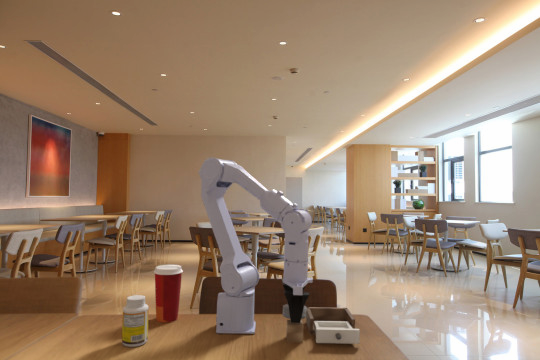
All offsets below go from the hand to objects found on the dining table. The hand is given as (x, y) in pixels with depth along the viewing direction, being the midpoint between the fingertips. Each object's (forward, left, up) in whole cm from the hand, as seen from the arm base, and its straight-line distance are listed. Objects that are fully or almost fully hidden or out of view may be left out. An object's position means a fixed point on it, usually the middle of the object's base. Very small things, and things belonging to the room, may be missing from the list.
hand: (294, 317), depth 89 cm
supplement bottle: (-36, -4, -5) cm, 37 cm away
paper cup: (-33, +12, -5) cm, 36 cm away
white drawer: (+10, 0, -4) cm, 10 cm away
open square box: (+10, +7, -5) cm, 13 cm away
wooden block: (0, 0, -5) cm, 5 cm away
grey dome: (0, 0, 0) cm, 0 cm away
